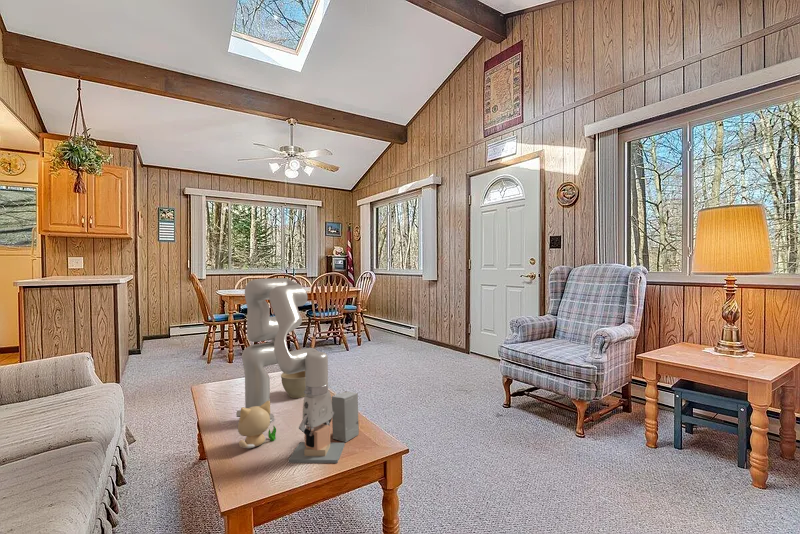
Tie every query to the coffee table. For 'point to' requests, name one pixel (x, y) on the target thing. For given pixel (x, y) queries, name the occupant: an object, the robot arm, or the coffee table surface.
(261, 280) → the robot arm
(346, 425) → the skincare box
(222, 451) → the coffee table surface
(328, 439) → the peach cardboard cube
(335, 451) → the post board
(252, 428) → the kitten
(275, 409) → the coffee table surface
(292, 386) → the planter bowl
